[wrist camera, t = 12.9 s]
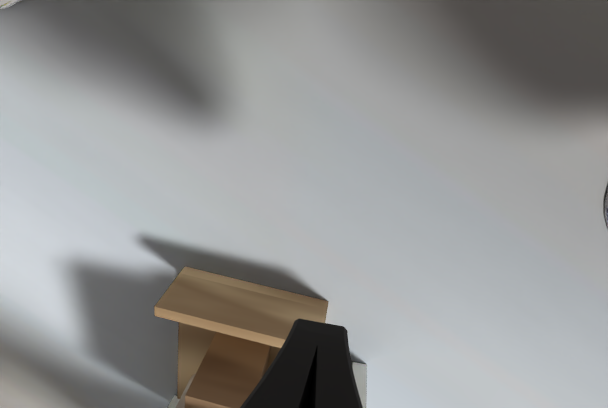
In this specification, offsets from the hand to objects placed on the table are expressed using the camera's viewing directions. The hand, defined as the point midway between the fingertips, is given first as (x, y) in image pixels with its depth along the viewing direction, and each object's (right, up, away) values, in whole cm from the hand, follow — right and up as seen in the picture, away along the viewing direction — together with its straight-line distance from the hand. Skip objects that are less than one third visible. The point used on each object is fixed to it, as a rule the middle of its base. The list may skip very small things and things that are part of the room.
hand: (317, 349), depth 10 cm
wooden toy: (-4, -5, +13) cm, 14 cm away
